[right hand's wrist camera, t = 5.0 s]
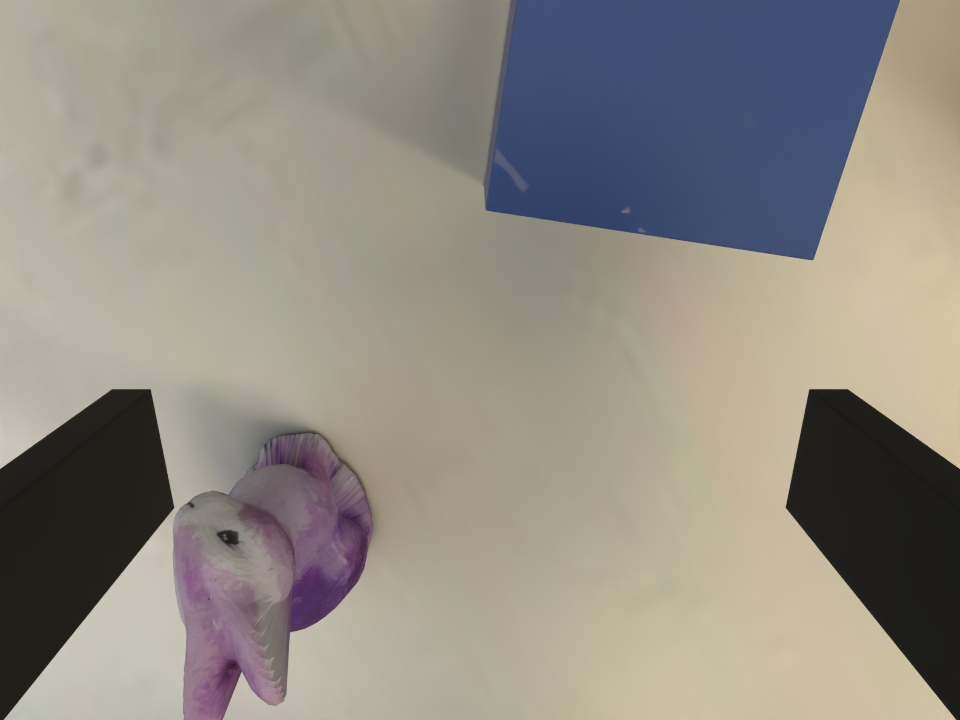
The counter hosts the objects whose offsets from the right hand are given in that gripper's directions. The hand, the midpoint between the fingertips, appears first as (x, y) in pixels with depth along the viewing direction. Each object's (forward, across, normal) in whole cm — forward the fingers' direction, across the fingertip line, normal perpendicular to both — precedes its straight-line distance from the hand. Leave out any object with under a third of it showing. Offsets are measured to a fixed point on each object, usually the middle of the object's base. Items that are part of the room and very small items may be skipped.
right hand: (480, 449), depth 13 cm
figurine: (+22, +11, +15) cm, 29 cm away
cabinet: (+22, -7, -9) cm, 25 cm away
